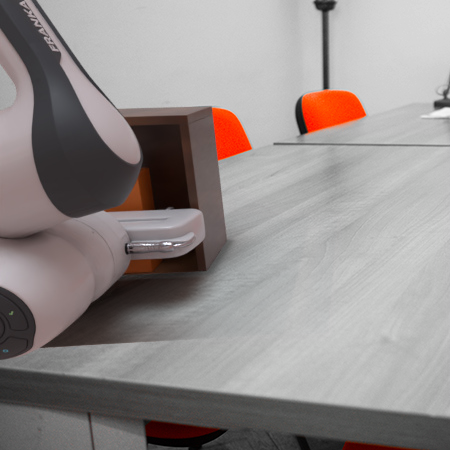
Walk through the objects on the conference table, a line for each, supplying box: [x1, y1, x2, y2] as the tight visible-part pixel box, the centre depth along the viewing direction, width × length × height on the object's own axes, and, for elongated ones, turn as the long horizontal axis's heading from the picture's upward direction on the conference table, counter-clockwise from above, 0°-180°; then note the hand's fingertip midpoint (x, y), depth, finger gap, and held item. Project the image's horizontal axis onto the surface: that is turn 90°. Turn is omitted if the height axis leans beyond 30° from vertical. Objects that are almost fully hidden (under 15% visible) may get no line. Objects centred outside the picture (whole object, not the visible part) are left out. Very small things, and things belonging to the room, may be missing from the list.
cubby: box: [117, 105, 228, 276], centre depth 71 cm, size 18×12×20 cm, turn 95°
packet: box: [104, 168, 162, 273], centre depth 69 cm, size 5×4×12 cm
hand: (130, 214), depth 69 cm, fingers open, 8 cm apart
